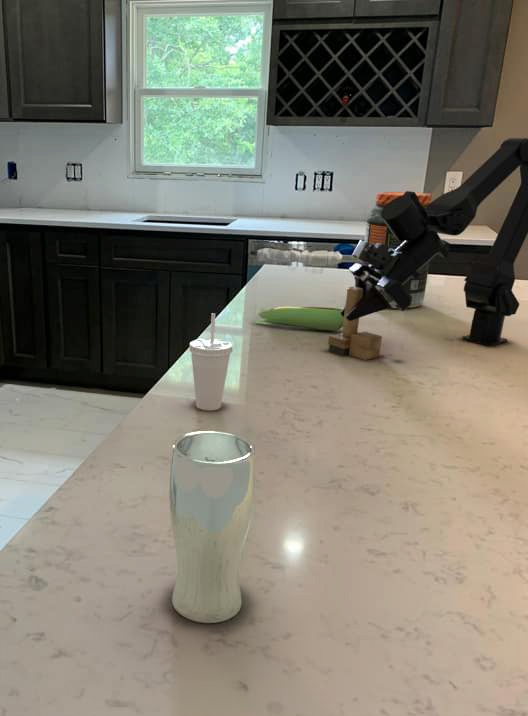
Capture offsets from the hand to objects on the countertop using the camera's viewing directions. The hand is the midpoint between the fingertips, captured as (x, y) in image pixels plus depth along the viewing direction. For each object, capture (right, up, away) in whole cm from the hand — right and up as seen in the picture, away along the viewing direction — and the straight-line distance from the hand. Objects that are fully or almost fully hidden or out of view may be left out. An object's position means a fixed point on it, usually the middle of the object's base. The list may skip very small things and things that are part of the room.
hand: (344, 317), depth 138 cm
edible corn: (-5, +1, +19) cm, 20 cm away
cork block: (+4, -7, 0) cm, 8 cm away
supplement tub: (+22, +11, +44) cm, 50 cm away
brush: (+1, -6, +3) cm, 7 cm away
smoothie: (-27, -18, -27) cm, 43 cm away
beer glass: (-30, -38, -73) cm, 88 cm away
